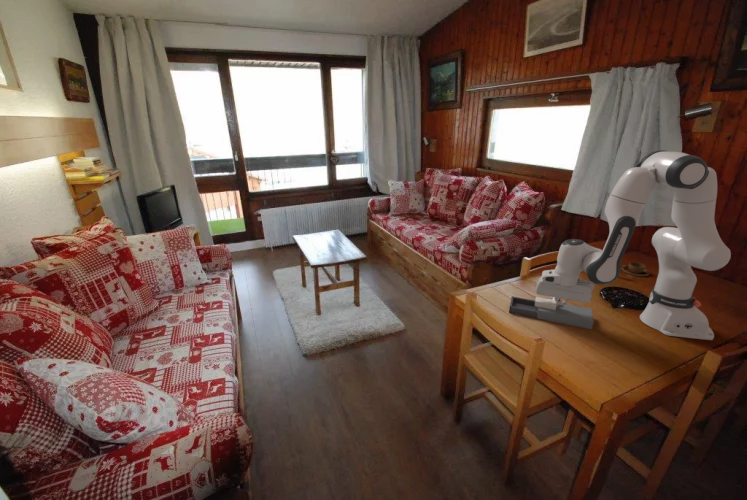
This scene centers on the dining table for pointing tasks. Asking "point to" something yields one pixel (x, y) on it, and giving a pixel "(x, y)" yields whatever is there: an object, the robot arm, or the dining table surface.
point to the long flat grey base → (568, 315)
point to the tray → (523, 307)
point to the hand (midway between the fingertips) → (559, 306)
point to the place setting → (635, 269)
